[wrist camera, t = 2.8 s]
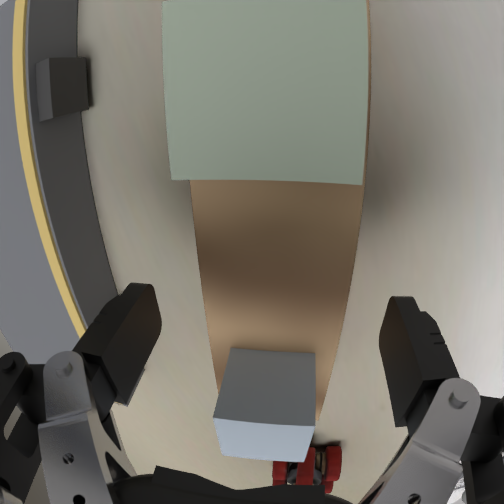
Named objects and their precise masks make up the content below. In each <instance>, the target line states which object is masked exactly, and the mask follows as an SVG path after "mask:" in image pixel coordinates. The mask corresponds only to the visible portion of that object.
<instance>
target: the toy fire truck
mask: <svg viewBox="0 0 504 504" xmlns="http://www.w3.org/2000/svg"><path fill="white" fill-rule="evenodd" d="M341 465H342V450H341V447H340V446H328V447H327V448H326V450H325V453H322V452H320V453H316V456H315V448H314V447H309V448H308V451H307V454H306V457H305V460H304V462H288V461H273V471H272V477H273V486H275V485H281V484H287V482H288V483H290V484H292V485H325V493H331V492H332V489H333V482H334V481H337V480H338V479H339V477H340V473H341Z"/></svg>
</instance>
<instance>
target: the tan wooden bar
mask: <svg viewBox="0 0 504 504" xmlns="http://www.w3.org/2000/svg"><path fill="white" fill-rule="evenodd" d="M366 5H367V25H368V109H367V130H366V146H365V159H364V171H363V182H362V185H353V184H338V183H321V182H301V181H274V180H190V189H191V199H192V209H193V219H194V228H195V237H196V246H197V254H198V262H199V270H200V278H201V286H202V293H203V300H204V307H205V314H206V321H207V328H208V334H209V341H210V347H211V353H212V359H213V365H214V371H215V377H216V383H217V388H218V394H219V392H220V388H221V384H222V380H223V376H224V372H225V368H226V364H227V360H228V356H229V352H230V349H231V348H239V349H251V350H264V351H279V352H297V353H315V365H316V415H315V420H319V417H320V413H321V410H322V406H323V403H324V399H325V396H326V392H327V388H328V384H329V381H330V377H331V373H332V369H333V365H334V361H335V357H336V352H337V348H338V344H339V339H340V335H341V330H342V326H343V321H344V316H345V311H346V306H347V301H348V296H349V291H350V285H351V280H352V274H353V268H354V262H355V256H356V250H357V243H358V236H359V229H360V221H361V214H362V205H363V197H364V188H365V178H366V167H367V155H368V141H369V124H370V100H371V34H370V11H369V0H366Z"/></svg>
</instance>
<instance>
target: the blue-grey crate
mask: <svg viewBox="0 0 504 504" xmlns="http://www.w3.org/2000/svg"><path fill="white" fill-rule="evenodd" d="M315 415H316V365H315V353H297V352H279V351H264V350H251V349H239V348H231V349H230V352H229V356H228V360H227V364H226V368H225V372H224V376H223V380H222V384H221V388H220V392H219V396H218V399H217V403H216V407H215V411H214V415H213V420H214V424H215V428H216V432H217V436H218V440H219V444H220V448H221V452H222V455H225V456H233V457H241V458H249V459H260V460H272V461H288V462H304V460H305V457H306V454H307V451H308V448H309V445H310V442H311V439H312V436H313V432H314V429H315Z"/></svg>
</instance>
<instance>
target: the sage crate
mask: <svg viewBox="0 0 504 504" xmlns="http://www.w3.org/2000/svg"><path fill="white" fill-rule="evenodd" d="M162 54H163V80H164V99H165V114H166V128H167V141H168V152H169V163H170V173H171V180H274V181H301V182H321V183H338V184H353V185H362V182H363V171H364V159H365V146H366V130H367V109H368V25H367V5H366V0H170V1H165V2H162Z"/></svg>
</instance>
